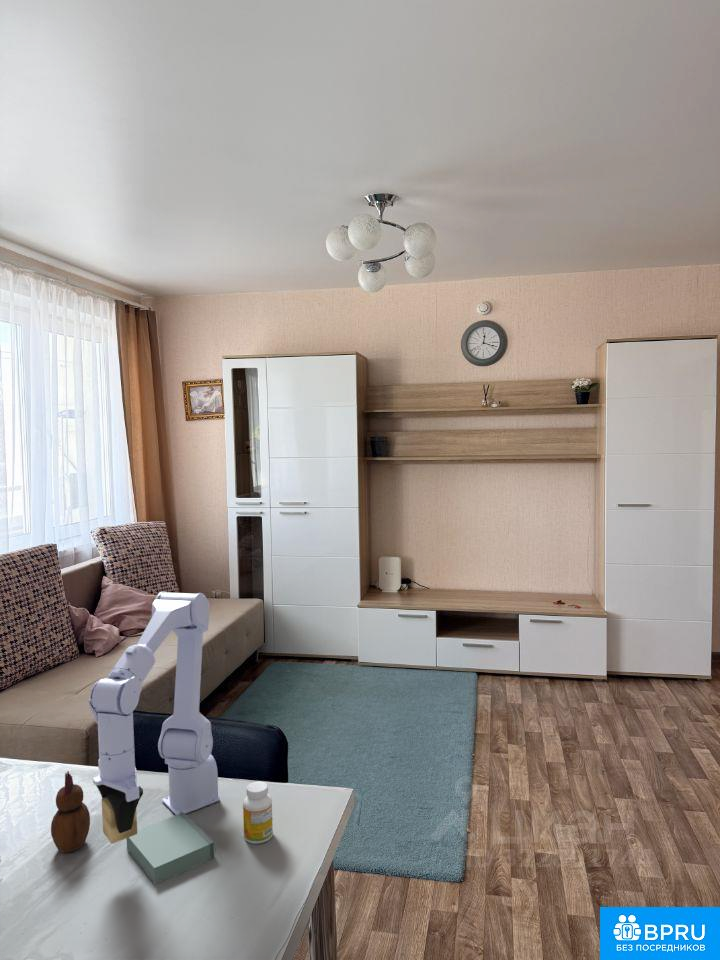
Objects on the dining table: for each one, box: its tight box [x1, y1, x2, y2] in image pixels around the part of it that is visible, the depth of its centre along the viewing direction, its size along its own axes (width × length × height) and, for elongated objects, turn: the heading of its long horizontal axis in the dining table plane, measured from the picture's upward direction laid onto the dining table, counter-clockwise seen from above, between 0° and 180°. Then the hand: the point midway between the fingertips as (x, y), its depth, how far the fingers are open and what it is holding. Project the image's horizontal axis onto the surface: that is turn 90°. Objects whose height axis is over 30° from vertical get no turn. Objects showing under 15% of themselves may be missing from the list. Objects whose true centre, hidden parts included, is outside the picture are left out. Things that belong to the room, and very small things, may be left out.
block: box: [101, 797, 138, 844], centre depth 118 cm, size 4×4×6 cm
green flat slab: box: [126, 812, 215, 884], centre depth 124 cm, size 11×13×3 cm
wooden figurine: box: [50, 770, 91, 853], centre depth 126 cm, size 7×6×15 cm
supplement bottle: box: [242, 781, 274, 845], centre depth 128 cm, size 5×5×10 cm
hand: (119, 823), depth 118 cm, fingers closed on block, 4 cm apart
